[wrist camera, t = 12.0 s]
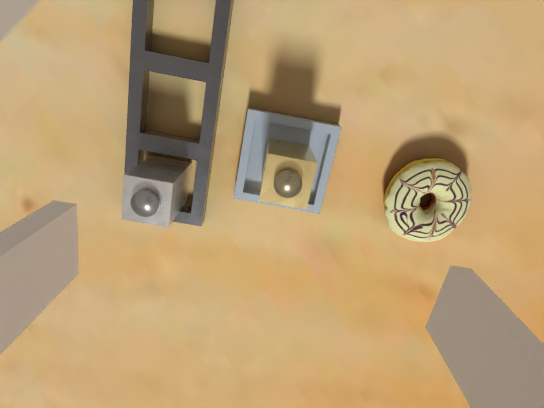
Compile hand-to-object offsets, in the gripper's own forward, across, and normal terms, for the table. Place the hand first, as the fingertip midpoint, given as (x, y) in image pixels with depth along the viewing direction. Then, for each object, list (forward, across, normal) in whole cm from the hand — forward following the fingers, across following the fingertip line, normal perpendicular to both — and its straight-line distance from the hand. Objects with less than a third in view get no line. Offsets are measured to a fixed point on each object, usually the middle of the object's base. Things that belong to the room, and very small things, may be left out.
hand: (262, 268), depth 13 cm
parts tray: (+33, +2, -4) cm, 33 cm away
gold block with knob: (+32, +2, -4) cm, 33 cm away
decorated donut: (+34, +20, -6) cm, 40 cm away
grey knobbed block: (+33, -12, -9) cm, 36 cm away
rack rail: (+33, -12, 0) cm, 35 cm away
